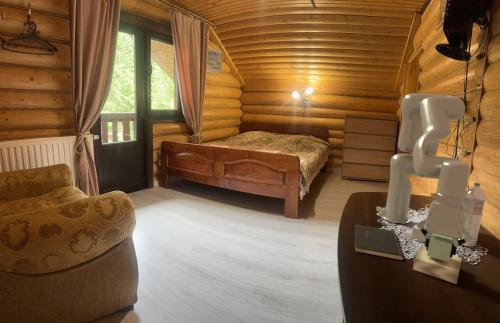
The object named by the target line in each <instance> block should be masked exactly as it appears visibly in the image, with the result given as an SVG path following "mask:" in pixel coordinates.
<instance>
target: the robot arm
mask: <svg viewBox="0 0 500 323" xmlns="http://www.w3.org/2000/svg"><path fill="white" fill-rule="evenodd" d="M400 110H401V116H402V117H401V119H402V120H401V125H400V130H399V135H398V136H399V137H398V139H397V140H398V142H397V147H398V149H399V150H400V151H401V152H404V153H396V154H394V155H392V157H391V158H390V162H389V163H390V164H389V165H390V170H389V171H390V175H389V183H388V184H389V185H388V192H387V199H386V204H385V207H382V206H376V209H375V210H376V211H377V213H378V212H379V213H381V215H380V217H381V218H382V220H384V221H386V222H388V223H393V224H396V223H406V222H407V221H408V219H410V218H409V217H408V213H409V209H410V208H409V207H410V203H411V202H410V201H411V194H412V188H413V184H412V181H411V180H410V178H409V177H408V176H415V177H416V176H417V177H421V178H424V179H434V180H435V179H437V180H438V181H437V182H438V183H437V187H436V192H433V193H432V192H431V193H430V198H433V200H432V201H431V203H430V206H429V207H428V208H429V209H428V212H427V215H426V218H425V219H422V220H421V221H419V222H417V224H416V225H417V227H418V228H419V229H420V230H421V232H422V233H423V235H424V236H425V238H426V241H425V243H424V247H426V250H427V251H428V247H429V242H430V238H431V236H432V234H433V233H434V234H438V235H442V236H446V237H449V238H452V240H453V244H452V248H451V253H450V258H452V257H453V255H454V256H457V255H456V254H457V250H458V247H459V246H463V245H462V244H464V243H466V242H468V241H471V240H472V239H473V237H472V236H471V235H470V233H469V232H468V231H467V230H466V228H465V227H464V224H465V207H464V206H463V203H464V198H465V193H466V190H467V189H468V188H467V186H468V181H469V177H470V172H471V166H470V164H468V163H466V162H463V161H461V160H460V159H459V158H456V157H448V156H437V153H438V150H439V146H440V144H439V143H440V141H443V140H445V139H446V138H448V137H449V136H450V135H451V133H452V128H451V124H450V121H458V120H460V119H462V118H463V117H464V115H465V111H466V105H465V102H464V101H463V100H462V98H460V97H457V96H453V95H449V94H441V93H440V94H439V93H438V94H437V93H422V92H419V93H418V92H416V93H415V92H414V93H407V94H406V95H404V96H403V98H402V101H401V106H400ZM410 153H412V154H410ZM424 225H425V226H424ZM423 226H424V227H425V228H424V227H423ZM463 234H464V235H465V236H466V237H464V238H462V239H460V238H461V237H462V235H463ZM458 239H459V240H458Z"/></svg>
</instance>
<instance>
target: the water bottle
mask: <svg viewBox="0 0 500 323" xmlns="http://www.w3.org/2000/svg"><path fill="white" fill-rule="evenodd" d="M480 186H481V183H479V182H474V183H473V186H471V187H469V188H467V189H466V193H465V198H464V203H463V206H464V207H465V224H464V227H465V228H466V230H467V231H468V232H469V233H470V235H471V236H472V237H473V239H472V240H471V241H468V242H466V243H464V244H462V245H461V246H463V245H464V246H463V247H466V246H469V247H468V248H474V247H475V246H476V245H477V241H478V237H479V232H480V229H481V228H480V227H481V222H482V219H483V218H482V217H483V210H484V207H485V201H486V199H487V194H486V193H485V191H484V190H483V189H482V188H481V187H480ZM464 237H466V236H465V235H464V234H463V235H462V237H461V238H460V239H462V238H464ZM458 240H459V239H458Z"/></svg>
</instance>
